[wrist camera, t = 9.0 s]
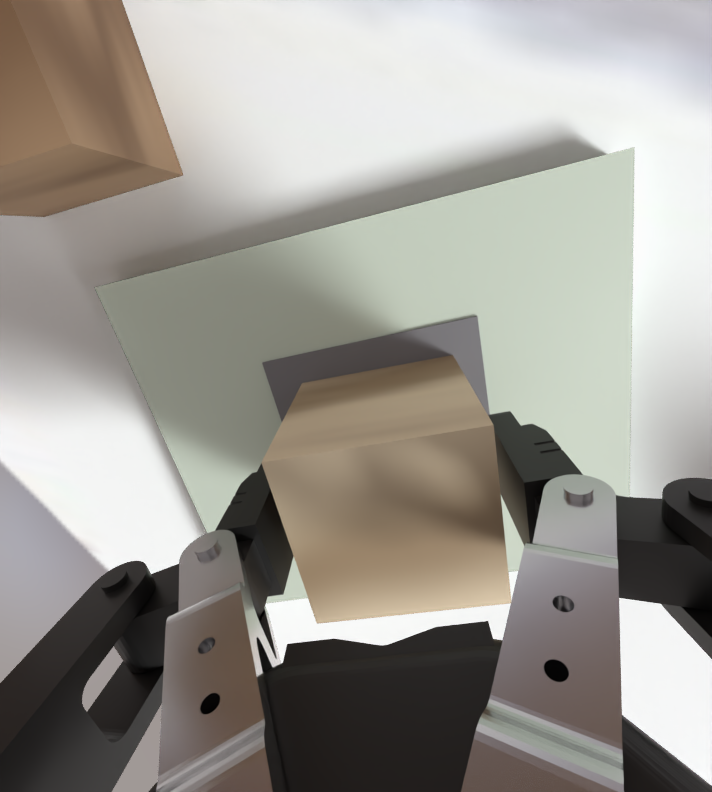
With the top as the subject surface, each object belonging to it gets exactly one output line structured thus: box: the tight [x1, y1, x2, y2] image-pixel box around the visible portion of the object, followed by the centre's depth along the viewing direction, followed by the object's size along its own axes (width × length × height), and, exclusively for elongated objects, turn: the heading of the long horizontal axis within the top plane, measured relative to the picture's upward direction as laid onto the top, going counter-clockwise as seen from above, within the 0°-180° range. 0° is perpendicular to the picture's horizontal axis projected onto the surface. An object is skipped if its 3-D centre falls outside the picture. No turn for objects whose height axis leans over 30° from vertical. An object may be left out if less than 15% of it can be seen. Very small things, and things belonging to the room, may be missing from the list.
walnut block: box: [0, 0, 183, 217], centre depth 10 cm, size 5×5×5 cm
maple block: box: [261, 355, 511, 623], centre depth 12 cm, size 5×5×5 cm
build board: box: [94, 147, 635, 603], centre depth 15 cm, size 14×16×1 cm
